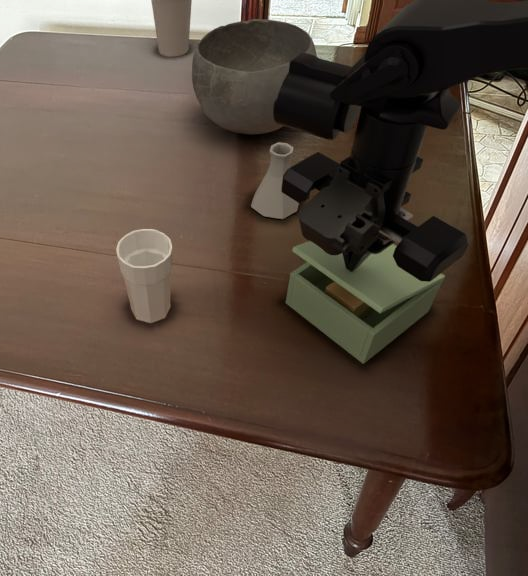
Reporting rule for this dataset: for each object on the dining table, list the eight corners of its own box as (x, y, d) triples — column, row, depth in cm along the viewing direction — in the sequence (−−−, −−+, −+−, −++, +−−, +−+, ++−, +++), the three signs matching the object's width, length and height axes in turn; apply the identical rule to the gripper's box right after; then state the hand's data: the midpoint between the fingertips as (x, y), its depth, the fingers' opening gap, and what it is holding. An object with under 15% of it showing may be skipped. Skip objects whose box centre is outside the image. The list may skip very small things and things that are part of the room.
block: (372, 313, 70) (380, 290, 67) (348, 331, 69) (355, 308, 65) (343, 293, 73) (350, 269, 70) (320, 310, 71) (325, 287, 68)
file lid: (380, 313, 59) (383, 308, 59) (291, 251, 66) (293, 246, 66) (442, 280, 66) (445, 276, 66) (357, 227, 73) (359, 222, 73)
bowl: (289, 86, 109) (299, 6, 98) (324, 146, 95) (340, 60, 84) (184, 101, 109) (182, 21, 97) (204, 163, 95) (204, 78, 84)
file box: (363, 364, 66) (374, 335, 62) (285, 303, 73) (290, 273, 69) (428, 311, 71) (443, 280, 66) (349, 258, 78) (357, 227, 74)
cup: (115, 309, 75) (104, 249, 67) (150, 281, 78) (144, 221, 70) (150, 335, 72) (143, 276, 63) (186, 306, 74) (184, 245, 66)
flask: (285, 226, 83) (293, 170, 76) (242, 209, 86) (245, 154, 79) (307, 199, 87) (317, 143, 79) (265, 183, 90) (271, 129, 82)
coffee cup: (204, 46, 123) (204, -28, 112) (176, 64, 118) (173, -12, 107) (170, 36, 127) (167, -37, 116) (142, 52, 123) (136, -21, 112)
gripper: (249, 143, 55) (241, 257, 66) (417, 244, 44) (372, 359, 55) (328, 100, 58) (307, 215, 70) (500, 184, 48) (442, 303, 59)
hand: (351, 268), depth 64 cm, fingers closed, pressing on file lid
